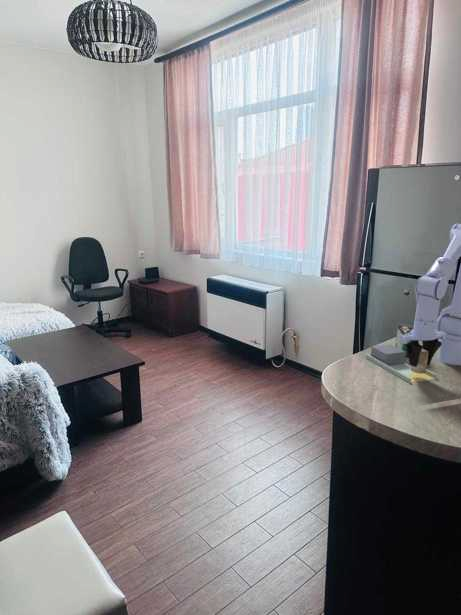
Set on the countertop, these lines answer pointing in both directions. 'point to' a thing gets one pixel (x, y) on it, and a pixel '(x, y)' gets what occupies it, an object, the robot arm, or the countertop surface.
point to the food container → (402, 330)
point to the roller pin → (421, 362)
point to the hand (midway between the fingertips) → (419, 364)
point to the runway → (404, 371)
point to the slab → (388, 354)
